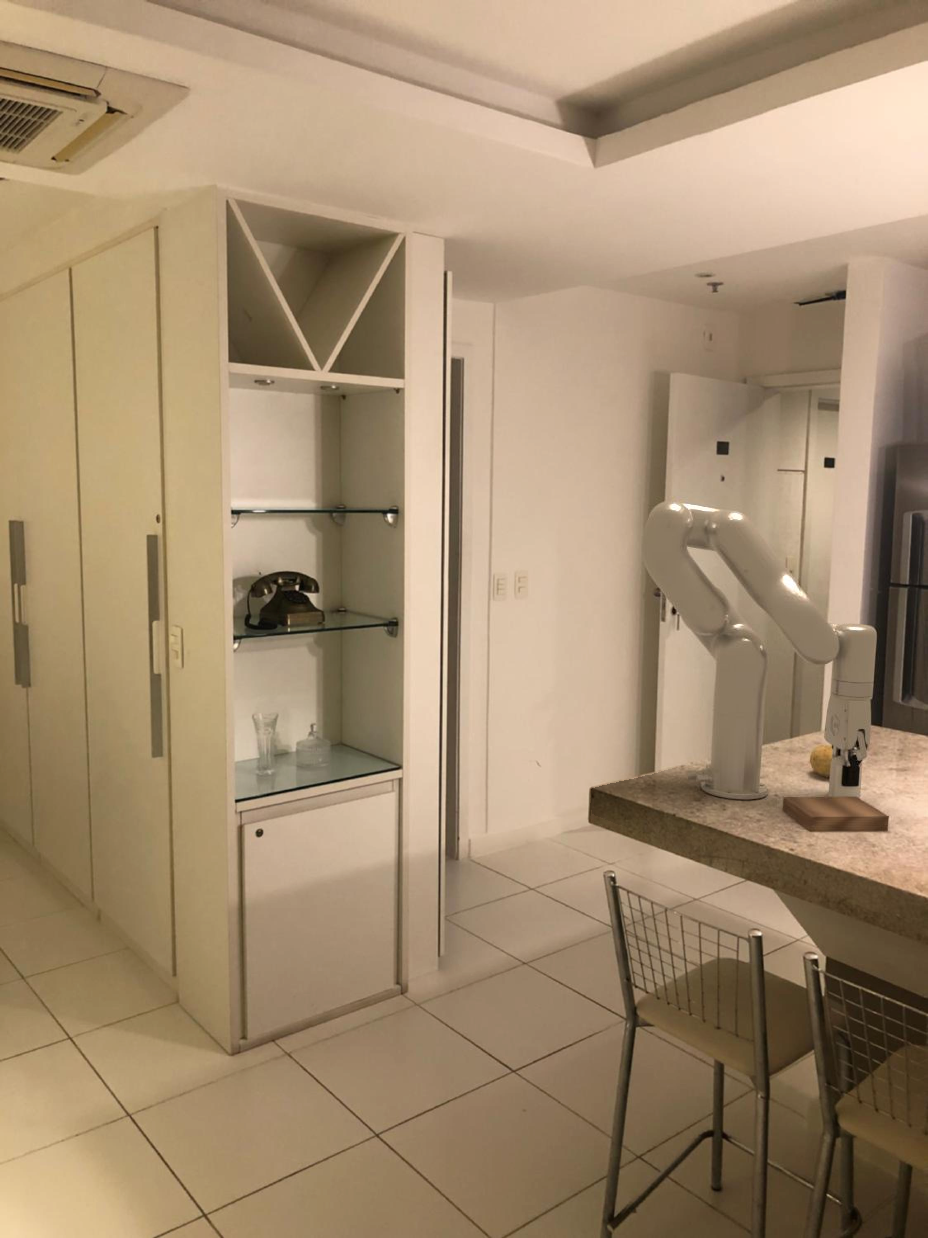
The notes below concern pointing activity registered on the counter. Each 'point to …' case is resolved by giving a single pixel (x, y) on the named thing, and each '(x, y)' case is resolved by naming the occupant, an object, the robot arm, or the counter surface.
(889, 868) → the counter surface
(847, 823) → the walnut block
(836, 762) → the grey tapered bottle shape
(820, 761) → the potato
